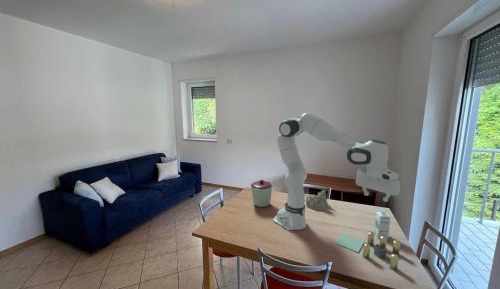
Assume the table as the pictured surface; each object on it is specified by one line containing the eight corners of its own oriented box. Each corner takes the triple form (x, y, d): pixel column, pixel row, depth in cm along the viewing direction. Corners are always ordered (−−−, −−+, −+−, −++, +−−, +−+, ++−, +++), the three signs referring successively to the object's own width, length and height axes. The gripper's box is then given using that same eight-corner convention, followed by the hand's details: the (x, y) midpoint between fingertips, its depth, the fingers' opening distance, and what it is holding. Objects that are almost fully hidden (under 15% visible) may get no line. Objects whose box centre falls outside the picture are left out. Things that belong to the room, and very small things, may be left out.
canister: (269, 211, 159) (269, 184, 156) (247, 207, 166) (246, 182, 162) (275, 201, 176) (275, 177, 172) (255, 198, 183) (254, 175, 179)
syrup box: (388, 239, 123) (391, 216, 121) (377, 238, 124) (380, 216, 122) (384, 233, 129) (386, 211, 126) (374, 232, 130) (376, 211, 127)
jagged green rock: (330, 204, 169) (329, 186, 166) (322, 212, 156) (321, 194, 154) (312, 200, 179) (311, 183, 176) (303, 208, 167) (302, 190, 164)
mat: (335, 243, 120) (335, 242, 120) (342, 234, 129) (342, 233, 129) (358, 253, 112) (358, 252, 112) (364, 242, 121) (364, 241, 121)
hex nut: (384, 260, 107) (385, 252, 106) (373, 255, 110) (373, 247, 109) (386, 254, 111) (387, 246, 110) (375, 250, 114) (376, 242, 114)
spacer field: (360, 256, 110) (361, 244, 109) (368, 241, 121) (369, 230, 120) (396, 271, 99) (398, 258, 98) (401, 254, 111) (403, 242, 109)
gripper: (353, 168, 112) (352, 193, 114) (395, 178, 95) (394, 206, 97) (360, 166, 115) (359, 190, 117) (402, 175, 98) (400, 203, 100)
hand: (375, 198), depth 107 cm, fingers open, 8 cm apart
